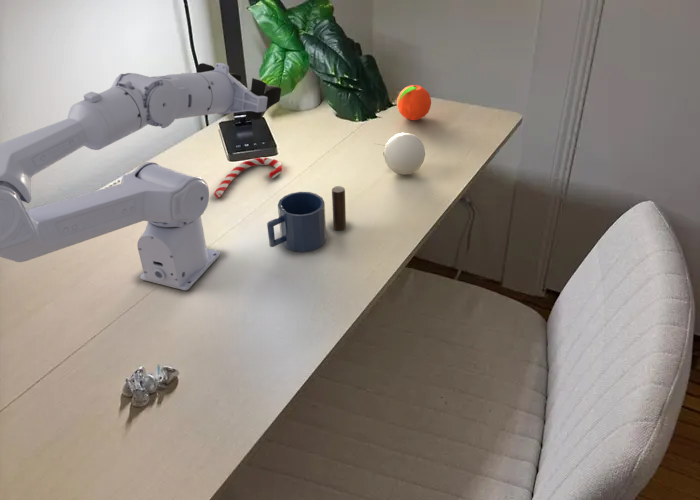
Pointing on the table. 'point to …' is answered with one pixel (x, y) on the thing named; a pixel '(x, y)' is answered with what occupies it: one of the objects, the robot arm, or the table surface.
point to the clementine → (414, 102)
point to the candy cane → (245, 165)
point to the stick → (338, 208)
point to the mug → (299, 222)
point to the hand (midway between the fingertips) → (258, 88)
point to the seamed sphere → (404, 153)
